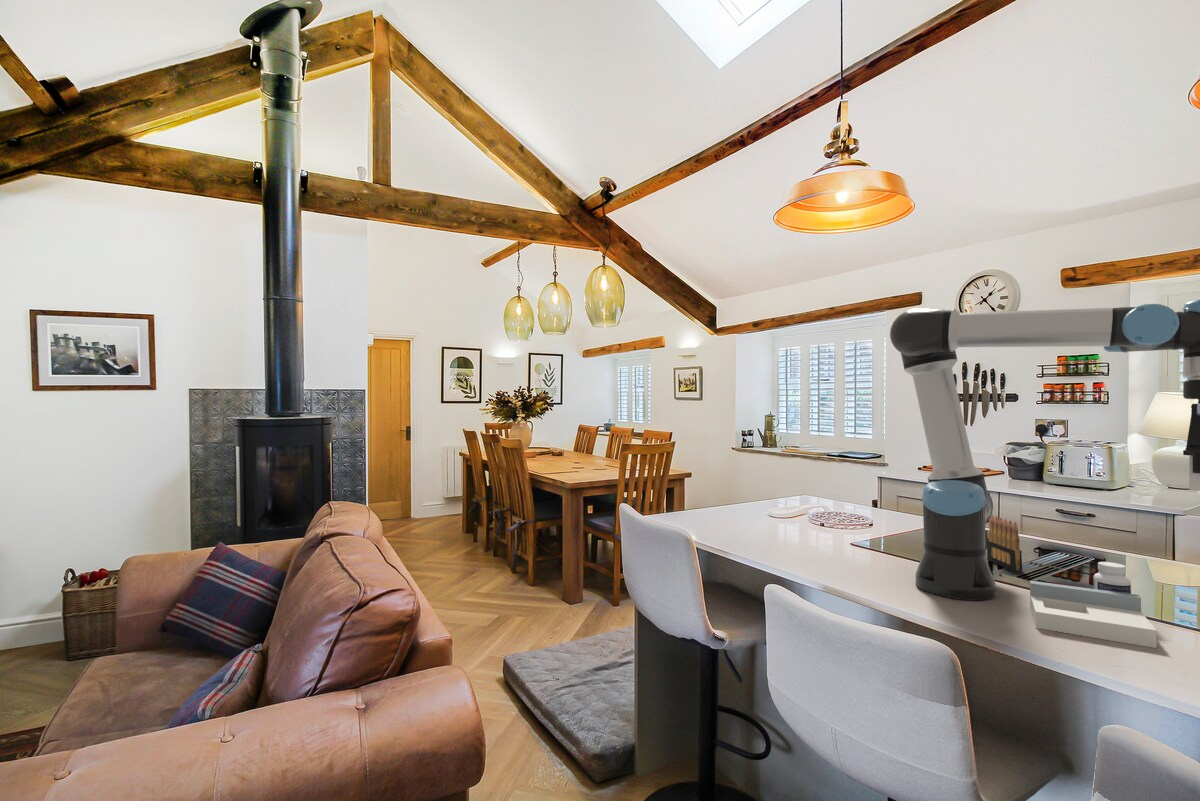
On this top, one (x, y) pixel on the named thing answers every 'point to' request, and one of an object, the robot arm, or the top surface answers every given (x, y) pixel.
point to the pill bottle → (1112, 578)
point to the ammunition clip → (1004, 544)
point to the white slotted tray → (1091, 613)
